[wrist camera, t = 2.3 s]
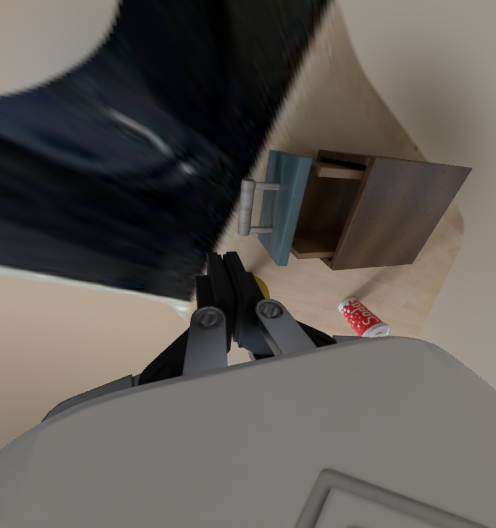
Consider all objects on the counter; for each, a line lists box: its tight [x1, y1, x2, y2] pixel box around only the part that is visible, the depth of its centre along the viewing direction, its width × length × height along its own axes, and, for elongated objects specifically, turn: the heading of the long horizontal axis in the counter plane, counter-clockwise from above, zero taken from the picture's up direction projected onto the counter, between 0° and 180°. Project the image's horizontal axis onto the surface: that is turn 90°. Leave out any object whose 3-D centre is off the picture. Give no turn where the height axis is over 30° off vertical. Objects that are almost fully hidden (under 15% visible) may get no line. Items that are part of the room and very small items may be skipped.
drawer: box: [238, 150, 367, 266], centre depth 25 cm, size 17×11×8 cm
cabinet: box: [317, 150, 472, 270], centre depth 27 cm, size 14×13×10 cm
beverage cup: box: [339, 297, 391, 338], centre depth 41 cm, size 6×6×14 cm
